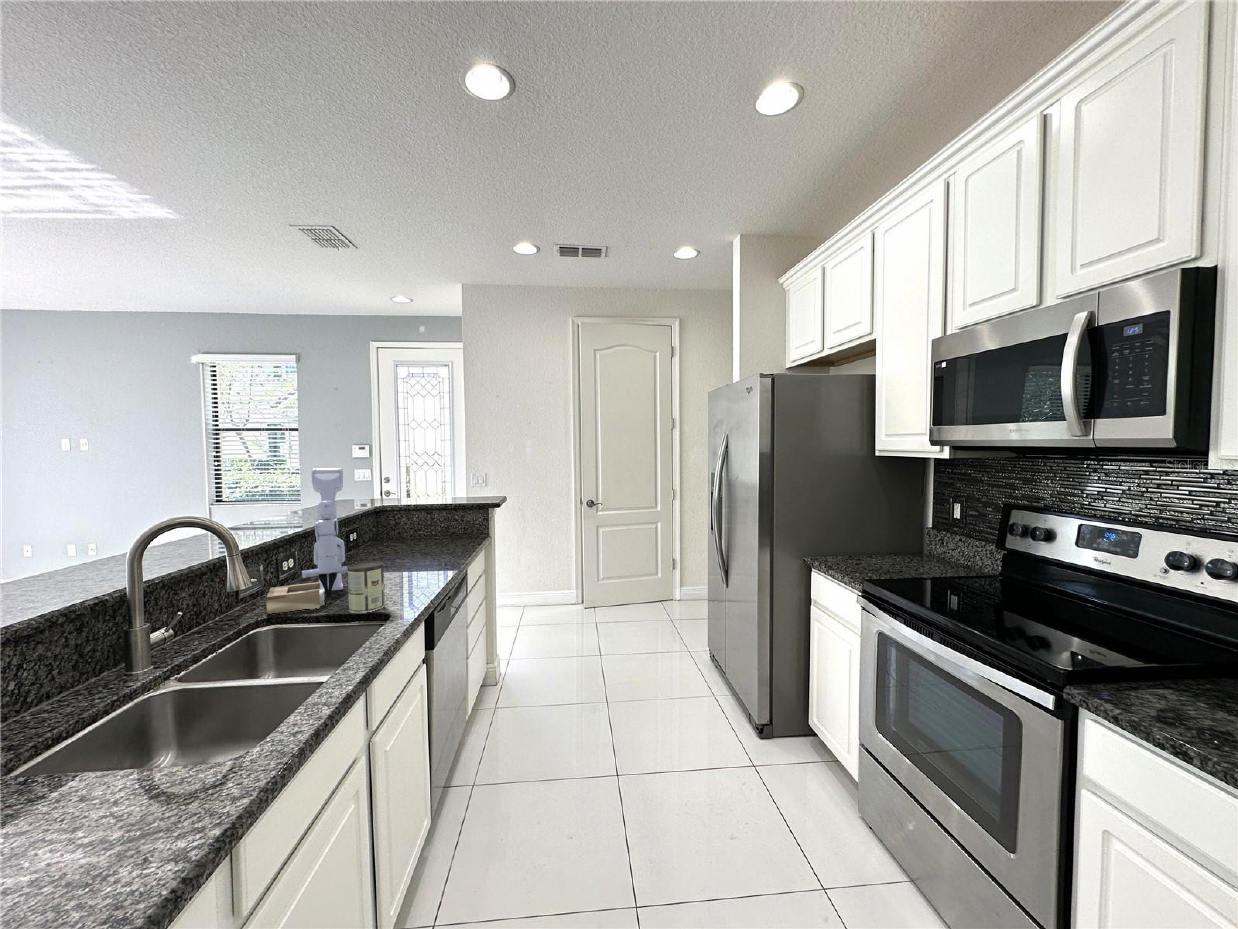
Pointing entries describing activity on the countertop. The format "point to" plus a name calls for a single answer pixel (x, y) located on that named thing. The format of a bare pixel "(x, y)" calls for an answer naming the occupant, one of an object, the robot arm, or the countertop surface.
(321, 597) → the aluminium block
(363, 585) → the coffee can
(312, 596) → the wooden channel
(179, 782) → the countertop surface
